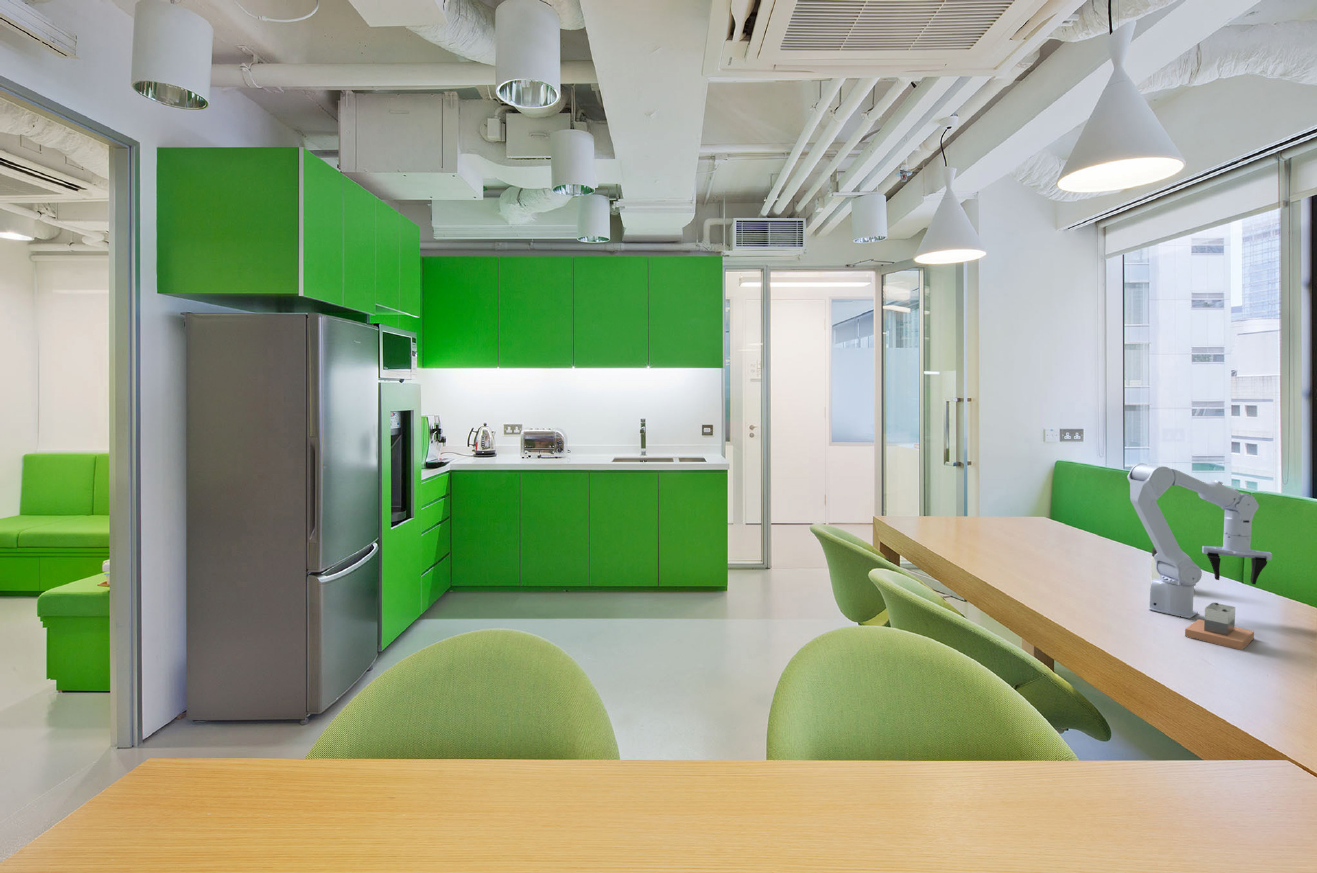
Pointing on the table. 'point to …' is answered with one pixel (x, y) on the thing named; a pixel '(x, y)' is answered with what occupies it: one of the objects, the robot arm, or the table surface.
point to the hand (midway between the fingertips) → (1234, 581)
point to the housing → (1219, 619)
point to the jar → (1154, 567)
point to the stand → (1233, 640)
